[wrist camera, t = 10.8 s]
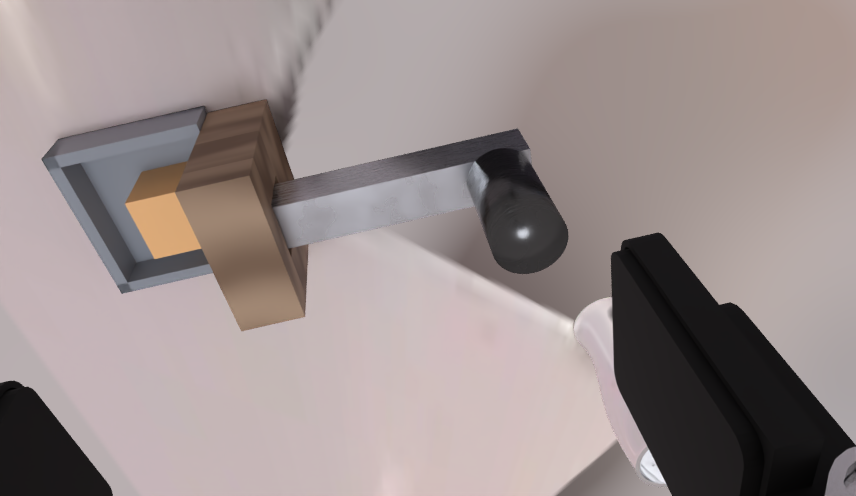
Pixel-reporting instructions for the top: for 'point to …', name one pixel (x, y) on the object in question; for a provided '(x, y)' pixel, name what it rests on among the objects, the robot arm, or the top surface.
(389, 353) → the top surface
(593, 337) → the beer glass
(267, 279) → the brown wooden block
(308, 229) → the grey piece
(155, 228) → the spacer block
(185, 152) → the tray
